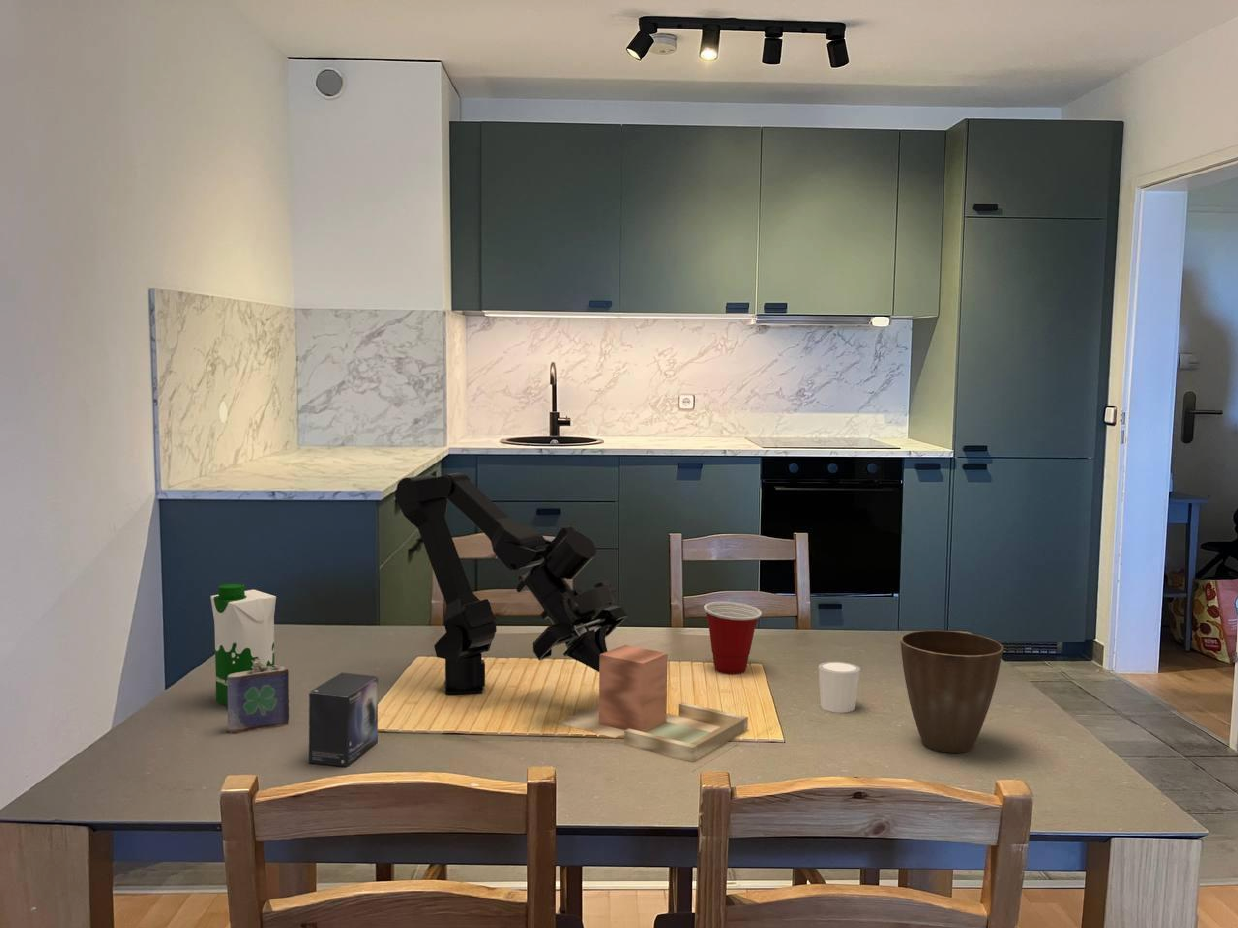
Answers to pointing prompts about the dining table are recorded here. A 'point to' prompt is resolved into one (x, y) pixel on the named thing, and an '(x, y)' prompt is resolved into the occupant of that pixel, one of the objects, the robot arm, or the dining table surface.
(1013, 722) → the dining table surface
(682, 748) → the shallow open box
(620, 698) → the block
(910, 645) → the plant pot
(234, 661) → the milk carton
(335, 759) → the small box
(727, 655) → the plastic cup
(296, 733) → the dining table surface
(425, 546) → the robot arm
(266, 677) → the flask
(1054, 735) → the dining table surface
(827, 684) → the white tapered cylinder
